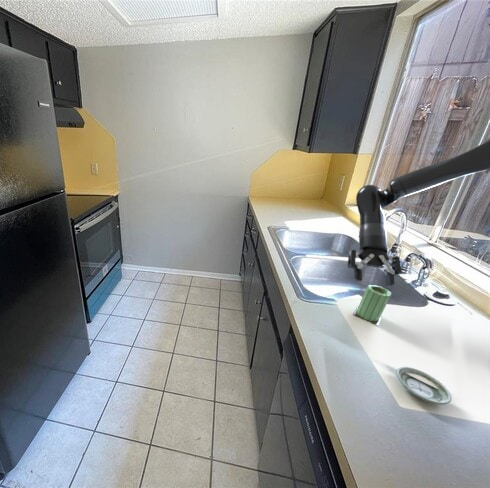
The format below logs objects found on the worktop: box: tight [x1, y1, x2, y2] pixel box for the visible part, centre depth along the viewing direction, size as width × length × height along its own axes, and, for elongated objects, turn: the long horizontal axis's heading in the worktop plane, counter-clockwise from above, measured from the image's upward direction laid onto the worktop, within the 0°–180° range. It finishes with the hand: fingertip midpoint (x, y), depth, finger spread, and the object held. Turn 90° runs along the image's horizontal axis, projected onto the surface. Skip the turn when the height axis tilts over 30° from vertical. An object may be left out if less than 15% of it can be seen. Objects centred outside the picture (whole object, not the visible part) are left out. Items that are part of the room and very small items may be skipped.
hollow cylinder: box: [356, 284, 392, 322], centre depth 82 cm, size 6×6×10 cm
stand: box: [352, 290, 383, 327], centre depth 83 cm, size 7×7×11 cm
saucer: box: [395, 366, 452, 405], centre depth 61 cm, size 10×10×2 cm
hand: (374, 283), depth 83 cm, fingers open, 8 cm apart
